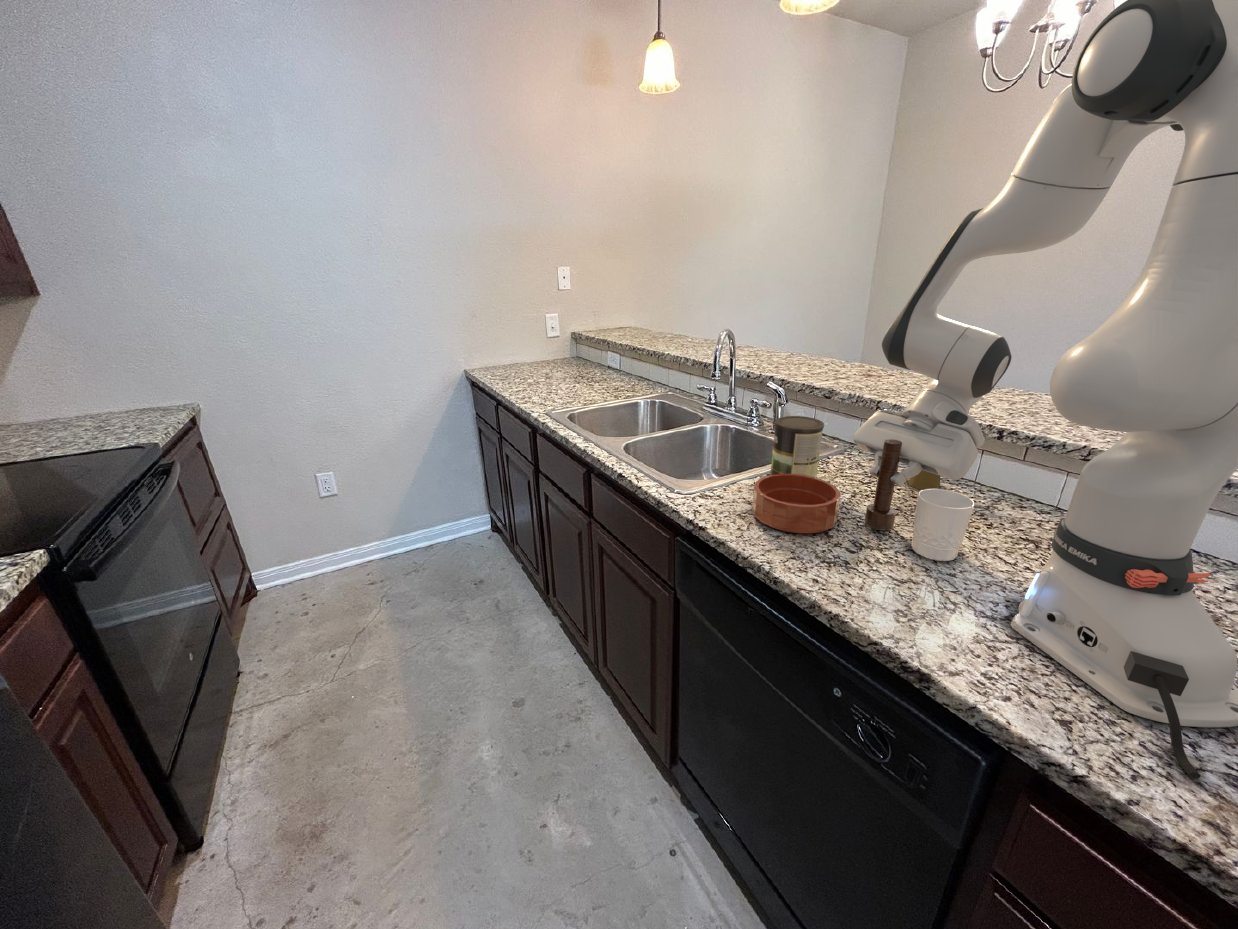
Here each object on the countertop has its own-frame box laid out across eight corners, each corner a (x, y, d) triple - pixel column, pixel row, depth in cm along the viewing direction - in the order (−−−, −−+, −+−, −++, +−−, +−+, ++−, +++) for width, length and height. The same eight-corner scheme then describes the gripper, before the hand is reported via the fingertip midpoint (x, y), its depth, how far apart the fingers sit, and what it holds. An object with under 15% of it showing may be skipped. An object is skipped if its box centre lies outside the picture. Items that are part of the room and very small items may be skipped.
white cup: (950, 569, 80) (964, 513, 76) (899, 550, 86) (910, 497, 82) (967, 552, 85) (982, 498, 81) (918, 535, 90) (929, 484, 87)
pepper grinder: (931, 480, 113) (941, 434, 109) (945, 491, 108) (956, 442, 104) (903, 479, 114) (912, 433, 110) (915, 490, 108) (925, 442, 104)
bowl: (849, 536, 91) (853, 506, 88) (762, 536, 91) (765, 506, 89) (820, 499, 105) (823, 473, 103) (745, 499, 106) (747, 473, 104)
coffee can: (765, 485, 113) (771, 425, 107) (773, 469, 121) (779, 413, 116) (813, 492, 108) (821, 430, 103) (818, 476, 117) (826, 418, 112)
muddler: (898, 529, 90) (914, 445, 84) (871, 529, 90) (885, 446, 84) (885, 517, 94) (900, 437, 89) (860, 517, 95) (873, 437, 89)
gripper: (873, 397, 96) (830, 453, 96) (985, 421, 79) (933, 490, 79) (885, 416, 100) (844, 470, 99) (995, 444, 82) (945, 509, 82)
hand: (884, 479), depth 89 cm, fingers closed on muddler, 3 cm apart
